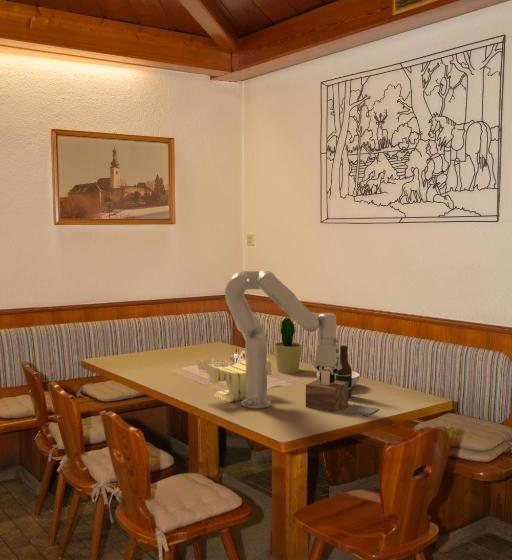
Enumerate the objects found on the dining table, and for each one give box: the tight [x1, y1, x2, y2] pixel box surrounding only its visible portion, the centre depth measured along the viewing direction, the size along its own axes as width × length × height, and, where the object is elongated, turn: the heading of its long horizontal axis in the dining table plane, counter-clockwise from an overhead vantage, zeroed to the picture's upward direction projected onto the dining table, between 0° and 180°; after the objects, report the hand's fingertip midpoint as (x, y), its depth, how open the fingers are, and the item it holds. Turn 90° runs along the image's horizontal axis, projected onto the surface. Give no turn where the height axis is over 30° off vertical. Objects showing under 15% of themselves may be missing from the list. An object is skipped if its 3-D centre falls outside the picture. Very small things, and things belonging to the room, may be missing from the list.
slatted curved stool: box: [197, 357, 272, 403], centre depth 304 cm, size 30×16×18 cm, turn 122°
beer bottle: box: [335, 344, 353, 399], centre depth 305 cm, size 8×8×24 cm
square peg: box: [321, 368, 333, 385], centre depth 291 cm, size 4×4×12 cm
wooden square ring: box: [305, 378, 349, 412], centre depth 291 cm, size 14×14×10 cm
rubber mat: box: [341, 404, 380, 417], centre depth 283 cm, size 12×12×1 cm
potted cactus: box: [273, 316, 303, 374], centre depth 357 cm, size 15×15×30 cm
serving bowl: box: [316, 370, 360, 387], centre depth 324 cm, size 21×21×7 cm
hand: (327, 381), depth 291 cm, fingers closed on square peg, 4 cm apart
